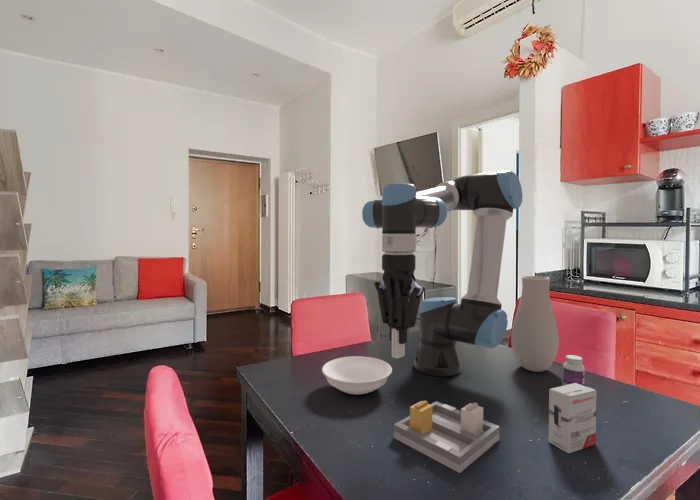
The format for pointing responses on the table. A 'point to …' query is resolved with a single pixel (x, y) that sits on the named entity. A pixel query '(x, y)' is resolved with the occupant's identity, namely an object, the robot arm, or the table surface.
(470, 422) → the ivory tab
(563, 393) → the ink box
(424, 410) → the amber tab
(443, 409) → the frame
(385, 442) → the table surface
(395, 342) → the robot arm
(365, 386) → the bowl
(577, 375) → the pill bottle
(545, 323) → the vase
